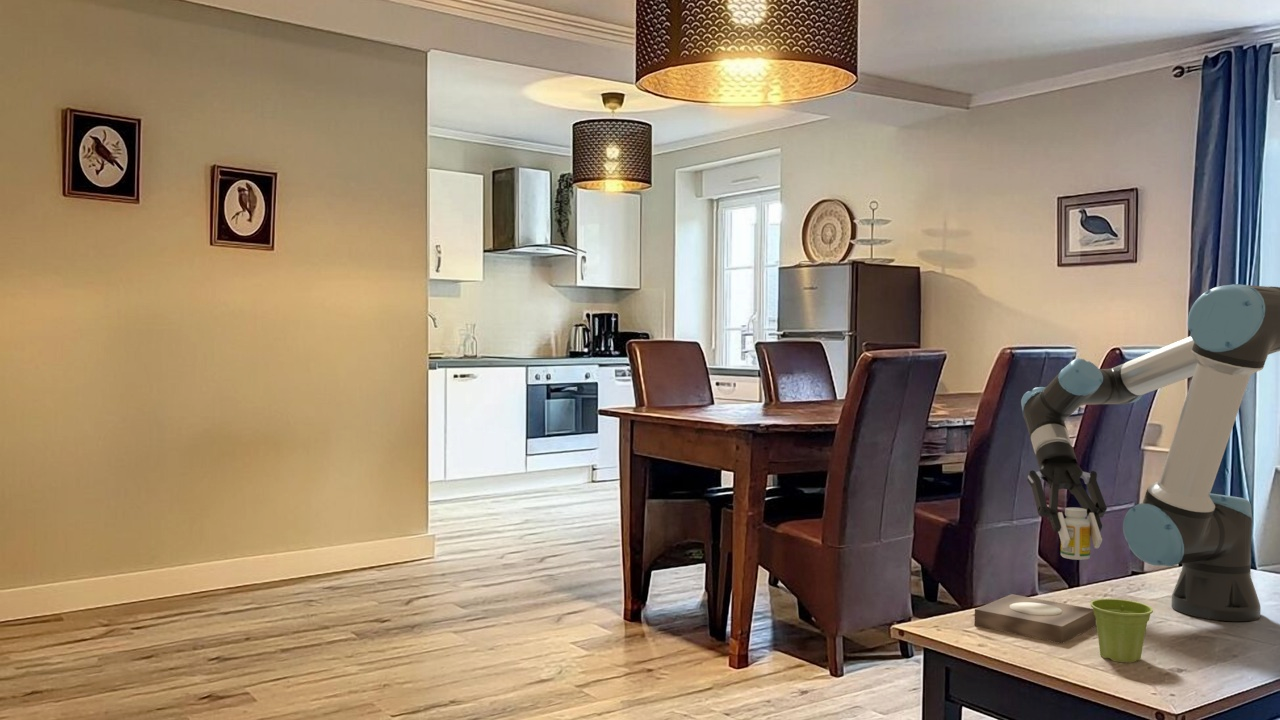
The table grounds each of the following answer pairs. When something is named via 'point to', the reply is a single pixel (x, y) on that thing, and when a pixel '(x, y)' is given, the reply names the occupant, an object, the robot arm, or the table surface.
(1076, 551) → the supplement bottle
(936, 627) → the table surface
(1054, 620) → the walnut plinth
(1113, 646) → the plant pot
